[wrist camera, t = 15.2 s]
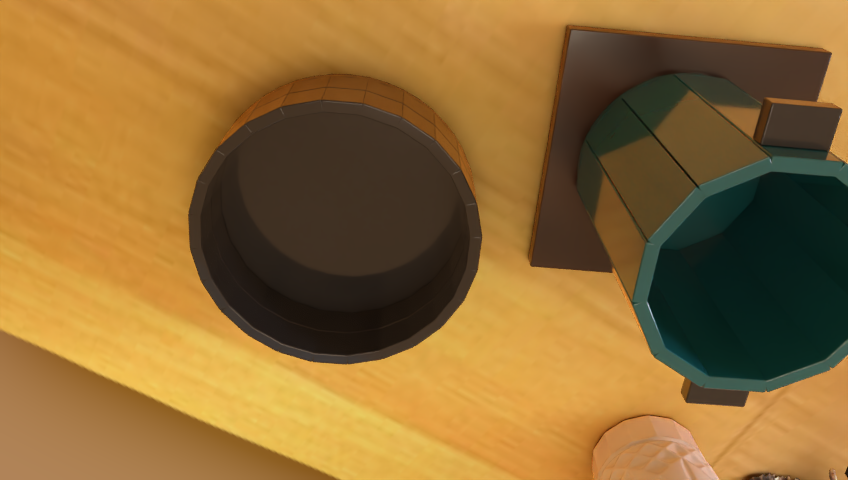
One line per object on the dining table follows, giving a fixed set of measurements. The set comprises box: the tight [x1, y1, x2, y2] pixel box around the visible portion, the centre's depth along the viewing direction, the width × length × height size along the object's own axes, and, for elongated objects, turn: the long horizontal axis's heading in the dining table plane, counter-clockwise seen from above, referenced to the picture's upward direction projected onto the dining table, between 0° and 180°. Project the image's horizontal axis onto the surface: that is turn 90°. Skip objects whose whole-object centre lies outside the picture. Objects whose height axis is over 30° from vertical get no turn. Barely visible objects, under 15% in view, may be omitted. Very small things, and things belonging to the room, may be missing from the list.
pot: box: [576, 73, 848, 407], centre depth 35 cm, size 13×10×12 cm
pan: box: [188, 74, 482, 364], centre depth 41 cm, size 14×14×5 cm
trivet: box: [529, 25, 832, 273], centre depth 41 cm, size 13×13×1 cm
